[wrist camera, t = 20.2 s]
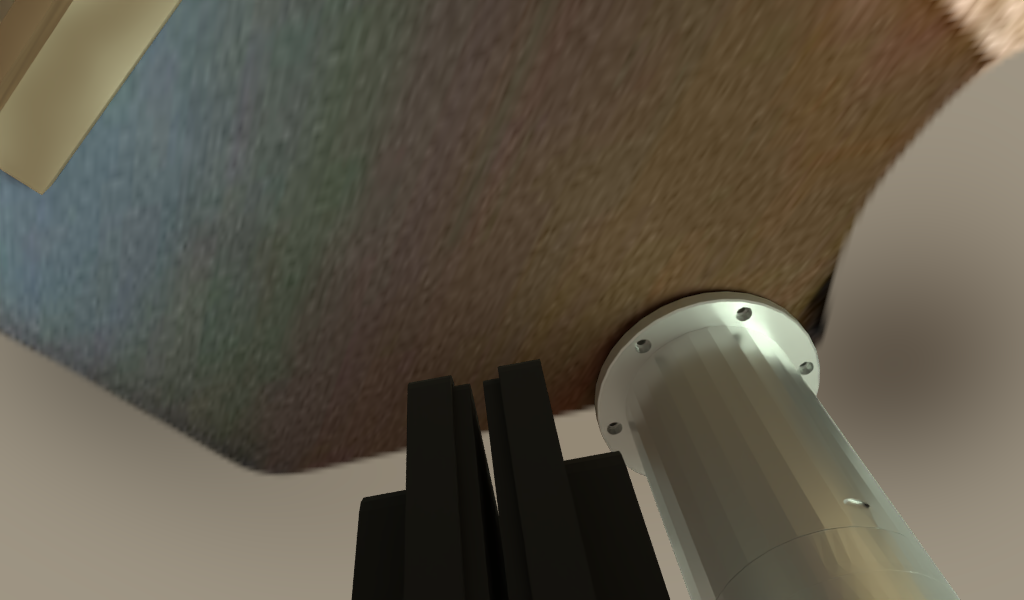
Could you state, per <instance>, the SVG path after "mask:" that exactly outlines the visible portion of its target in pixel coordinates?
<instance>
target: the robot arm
mask: <svg viewBox="0 0 1024 600" xmlns="http://www.w3.org/2000/svg"><path fill="white" fill-rule="evenodd" d="M498 372H499V378H497V379H492V380H486V381H483V386H484V395H485V403H486V411H487V420H488V428H489V436H490V445H491V452H492V460H493V469H494V478H495V486H496V494H497V503H498V510H497V505H496V500H495V496H494V491H493V486H492V482H491V477H490V473H489V468H488V463H487V459H486V454H485V450H484V445H483V440H482V436H481V431H480V426H479V422H478V417H477V412H476V408H475V403H474V398H473V394H472V390H471V386H470V384H465V385H459V386H454V382H453V379H452V376H451V375H450V376H445V377H439V378H434V379H428V380H423V381H417V382H412V383H409V384H408V402H407V458H406V461H407V462H406V490H403V491H397V492H392V493H386V494H381V495H376V496H370V497H365V498H363V500H362V501H361V505H360V511H359V521H358V532H357V545H356V556H355V567H354V578H353V590H352V600H670V597H669V595H668V591H667V589H666V585H665V582H664V579H663V576H662V573H661V570H660V567H659V564H658V561H657V558H656V555H655V552H654V549H653V546H652V543H651V540H650V537H649V534H648V531H647V528H646V525H645V522H644V519H643V516H642V513H641V510H640V507H639V504H638V501H637V498H636V495H635V492H634V489H633V486H632V482H631V479H630V477H629V474H628V471H627V467H626V466H628V467H629V468H631V469H632V470H633V471H635V472H637V473H640V474H642V475H644V476H646V477H647V479H648V482H649V485H650V488H651V490H652V493H653V496H654V499H655V501H656V504H657V507H658V510H659V512H660V515H661V518H662V521H663V523H664V526H665V529H666V532H667V534H668V537H669V540H670V543H671V546H672V548H673V551H674V554H675V556H676V559H677V562H678V565H679V567H680V570H681V573H682V576H683V579H684V581H685V584H686V587H687V590H688V592H689V595H690V598H691V600H960V599H959V597H958V596H957V594H956V593H955V591H954V590H953V589H952V587H951V586H950V585H949V583H948V582H947V581H946V579H945V578H944V576H943V575H942V573H941V572H940V571H939V569H938V568H937V567H936V565H935V564H934V562H933V561H932V559H931V558H930V556H929V555H928V554H927V552H926V551H925V550H924V548H923V547H922V545H921V544H920V542H919V541H918V540H917V538H916V537H915V535H914V534H913V532H912V531H911V530H910V528H909V527H908V526H907V524H906V523H905V521H904V520H903V518H902V517H901V516H900V514H899V513H898V511H897V510H896V509H895V507H894V506H893V504H892V503H891V502H890V500H889V499H888V497H887V496H886V494H885V493H884V492H883V490H882V489H881V488H880V486H879V485H878V483H877V482H876V480H875V479H874V478H873V476H872V475H871V473H870V472H869V471H868V469H867V468H866V466H865V465H864V463H863V462H862V461H861V459H860V458H859V457H858V455H857V454H856V452H855V451H854V449H853V448H852V447H851V445H850V444H849V443H848V441H847V440H846V438H845V437H844V435H843V434H842V432H841V431H840V430H839V428H838V427H837V426H836V424H835V423H834V421H833V420H832V418H831V417H830V416H829V414H828V413H827V411H826V410H825V409H824V407H823V406H822V404H821V403H820V401H819V400H818V399H817V397H816V395H817V391H818V387H819V376H820V365H819V361H818V356H817V351H816V349H815V347H814V345H813V343H812V341H811V339H810V337H809V335H808V333H807V332H806V331H805V330H804V328H803V327H802V326H801V324H800V323H799V322H798V321H797V320H796V319H795V318H794V317H793V316H792V315H791V314H790V313H789V312H788V311H786V310H785V309H784V308H782V307H781V306H779V305H777V304H775V303H773V302H772V301H770V300H768V299H765V298H762V297H758V296H755V295H752V294H748V293H739V292H729V291H724V292H710V293H702V294H698V295H694V296H690V297H686V298H682V299H680V300H677V301H675V302H672V303H670V304H667V305H665V306H663V307H661V308H659V309H657V310H656V311H654V312H652V313H651V314H649V315H647V316H646V317H644V318H643V319H641V320H640V321H639V322H638V323H637V324H635V325H634V326H633V327H632V328H631V329H630V330H628V331H627V332H626V333H625V334H624V335H623V336H622V338H621V339H620V340H619V341H618V342H617V344H616V345H615V346H614V347H613V348H612V350H611V351H610V353H609V355H608V357H607V359H606V360H605V362H604V364H603V366H602V368H601V371H600V374H599V377H598V380H597V383H596V390H595V401H594V403H595V410H596V417H597V421H598V424H599V428H600V431H601V434H602V436H603V438H604V440H605V442H606V443H607V445H608V447H609V449H610V450H611V451H612V452H610V453H604V454H598V455H593V456H587V457H582V458H577V459H571V460H566V461H563V457H562V452H561V448H560V444H559V440H558V435H557V431H556V427H555V422H554V418H553V414H552V409H551V405H550V401H549V396H548V392H547V388H546V384H545V379H544V375H543V371H542V366H541V362H540V359H538V360H532V361H527V362H521V363H516V364H510V365H505V366H499V367H498ZM498 511H499V514H498Z"/></svg>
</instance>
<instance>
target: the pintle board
mask: <svg viewBox="0 0 1024 600" xmlns="http://www.w3.org/2000/svg"><path fill="white" fill-rule="evenodd" d="M181 1H182V0H0V169H1V170H3V171H4V172H6V173H7V174H9V175H11V176H12V177H14V178H15V179H17V180H19V181H20V182H22V183H23V184H25V185H27V186H28V187H30V188H31V189H33V190H35V191H36V192H38V193H39V194H41V195H42V194H43V193H44V192H45V191H46V190H47V189H48V188H49V187H50V186H51V185H52V184H53V183H54V181H55V180H56V179H57V177H58V176H59V174H60V173H61V171H62V170H63V169H64V167H65V166H66V164H67V163H68V162H69V160H70V159H71V157H72V156H73V154H74V153H75V152H76V150H77V149H78V147H79V146H80V144H81V143H82V142H83V140H84V139H85V137H86V136H87V135H88V133H89V132H90V130H91V129H92V127H93V126H94V125H95V123H96V122H97V120H98V119H99V117H100V116H101V115H102V113H103V112H104V110H105V109H106V108H107V106H108V105H109V103H110V102H111V100H112V99H113V98H114V96H115V95H116V93H117V92H118V90H119V89H120V88H121V86H122V85H123V83H124V82H125V81H126V79H127V78H128V76H129V75H130V73H131V72H132V71H133V69H134V68H135V66H136V65H137V63H138V62H139V61H140V59H141V58H142V56H143V55H144V54H145V52H146V51H147V49H148V48H149V46H150V45H151V44H152V42H153V41H154V39H155V38H156V36H157V35H158V34H159V32H160V31H161V29H162V28H163V27H164V25H165V24H166V22H167V21H168V19H169V18H170V17H171V15H172V14H173V12H174V11H175V9H176V8H177V7H178V5H179V4H180V2H181Z"/></svg>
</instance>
